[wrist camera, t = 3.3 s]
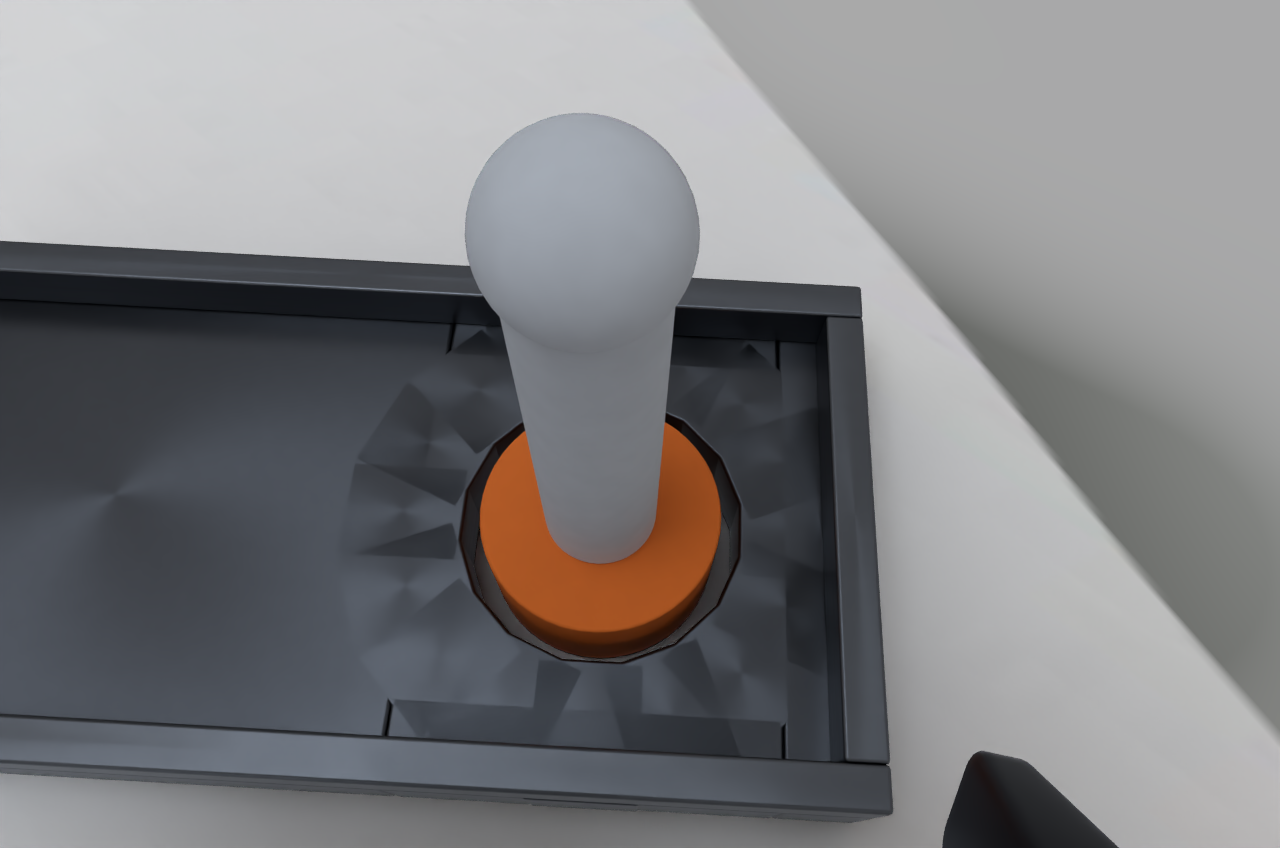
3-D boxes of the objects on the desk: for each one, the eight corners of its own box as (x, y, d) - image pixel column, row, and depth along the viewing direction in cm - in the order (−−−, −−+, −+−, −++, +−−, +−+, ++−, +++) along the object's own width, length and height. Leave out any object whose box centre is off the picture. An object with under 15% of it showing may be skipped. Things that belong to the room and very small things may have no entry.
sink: (-238, 761, 18) (-323, 750, 16) (-36, 307, 23) (-87, 264, 21) (855, 824, 18) (877, 819, 16) (833, 354, 23) (850, 314, 21)
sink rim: (-322, 748, 17) (-388, 740, 15) (-87, 265, 21) (-126, 233, 20) (876, 819, 16) (894, 815, 15) (849, 315, 21) (861, 285, 20)
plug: (498, 669, 19) (320, 389, 8) (491, 459, 21) (340, -1, 10) (725, 646, 19) (866, 343, 8) (696, 441, 21) (775, -26, 10)
